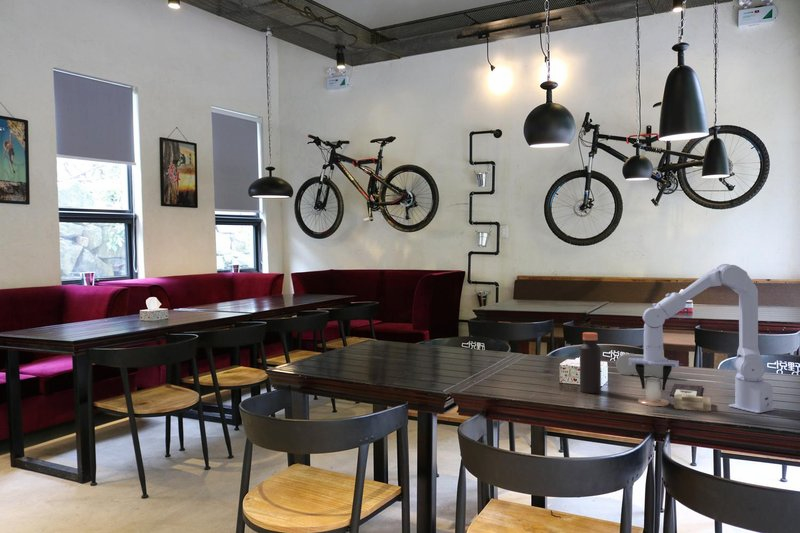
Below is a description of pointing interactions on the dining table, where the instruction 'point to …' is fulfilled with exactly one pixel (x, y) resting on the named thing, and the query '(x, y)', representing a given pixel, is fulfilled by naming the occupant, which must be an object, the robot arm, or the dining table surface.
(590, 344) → the bottle
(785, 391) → the dining table surface
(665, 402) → the terracotta saucer
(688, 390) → the chocolate bar
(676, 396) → the birch holder
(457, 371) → the dining table surface
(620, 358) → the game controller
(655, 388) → the light gray cylinder
